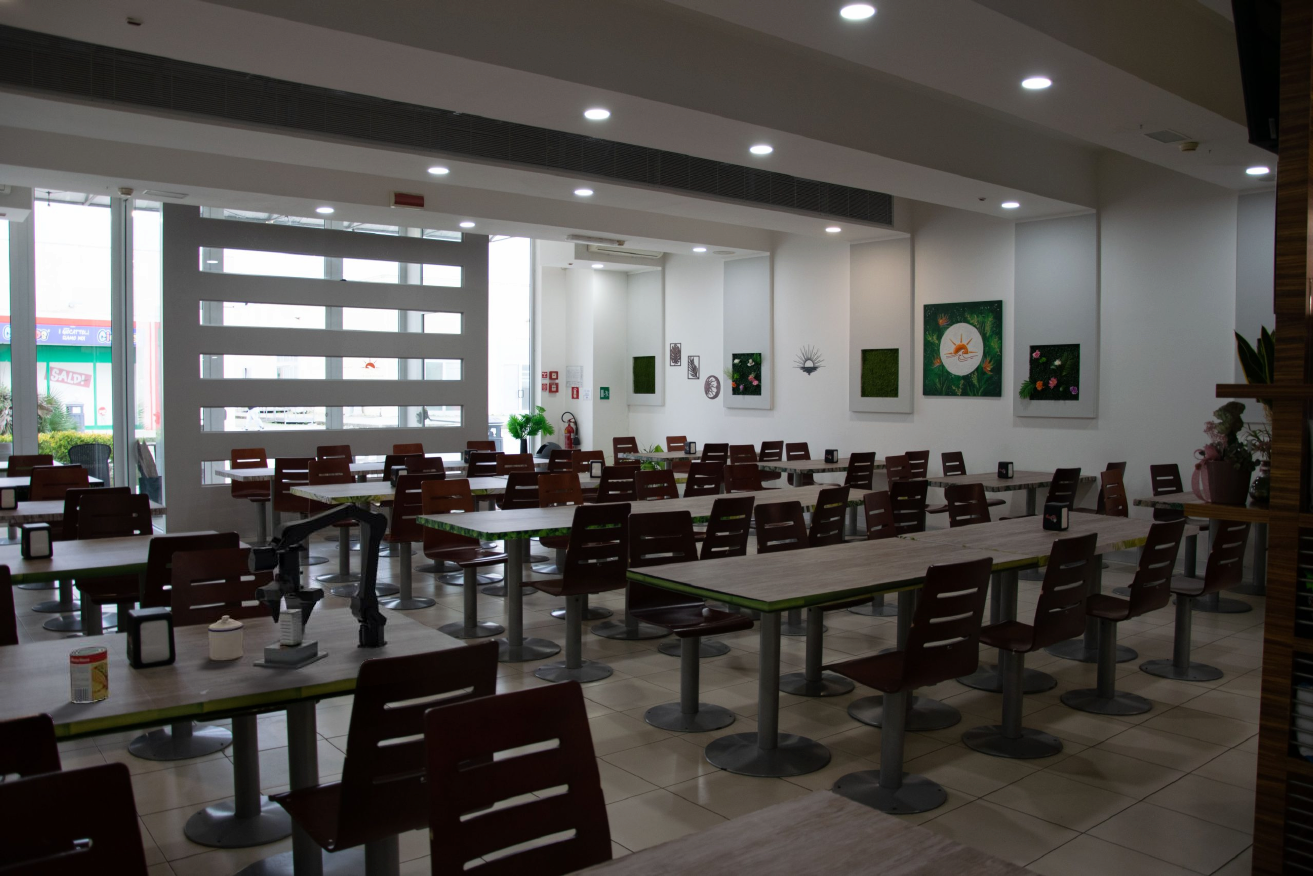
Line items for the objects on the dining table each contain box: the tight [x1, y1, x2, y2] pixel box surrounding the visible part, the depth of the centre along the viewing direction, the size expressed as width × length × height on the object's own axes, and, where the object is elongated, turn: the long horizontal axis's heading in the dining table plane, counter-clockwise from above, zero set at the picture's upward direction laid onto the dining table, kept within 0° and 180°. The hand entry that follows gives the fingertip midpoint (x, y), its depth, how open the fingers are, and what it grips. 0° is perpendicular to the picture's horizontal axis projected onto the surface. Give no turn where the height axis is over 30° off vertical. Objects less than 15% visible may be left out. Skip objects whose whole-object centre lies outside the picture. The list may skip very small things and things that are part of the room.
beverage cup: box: [283, 583, 307, 634], centre depth 295 cm, size 7×7×20 cm
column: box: [279, 609, 303, 645], centre depth 263 cm, size 4×4×9 cm
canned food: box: [69, 645, 110, 702], centre depth 230 cm, size 8×8×12 cm
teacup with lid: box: [207, 615, 244, 662], centre depth 268 cm, size 12×9×12 cm
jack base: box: [252, 639, 329, 670], centre depth 263 cm, size 14×14×5 cm
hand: (290, 623), depth 263 cm, fingers open, 9 cm apart
